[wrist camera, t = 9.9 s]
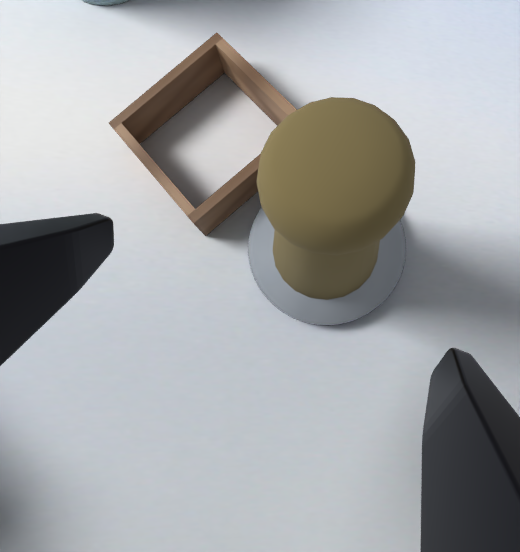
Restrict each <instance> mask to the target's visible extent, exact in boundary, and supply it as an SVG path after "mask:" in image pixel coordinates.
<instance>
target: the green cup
mask: <svg viewBox="0 0 520 552" xmlns="http://www.w3.org/2000/svg"><path fill="white" fill-rule="evenodd" d="M83 1H84V2H88V3H89V4H95V5H113V4H119V3H124V2H126V1H129V0H83Z"/></svg>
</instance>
